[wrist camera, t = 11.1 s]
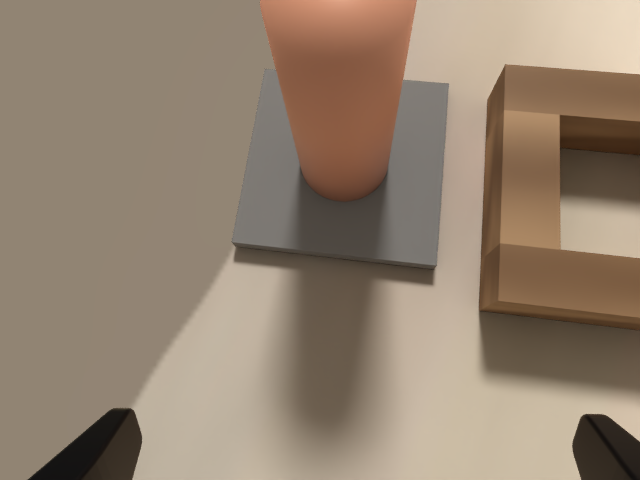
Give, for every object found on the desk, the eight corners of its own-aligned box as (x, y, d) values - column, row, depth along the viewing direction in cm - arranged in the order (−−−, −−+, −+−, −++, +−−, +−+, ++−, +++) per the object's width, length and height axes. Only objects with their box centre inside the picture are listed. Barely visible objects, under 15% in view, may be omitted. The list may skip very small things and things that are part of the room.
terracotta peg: (399, 187, 23) (439, 36, 13) (313, 211, 23) (280, 79, 13) (373, 111, 25) (389, -85, 14) (291, 134, 25) (245, -45, 14)
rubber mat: (433, 269, 23) (436, 265, 22) (235, 246, 24) (231, 242, 23) (445, 92, 26) (448, 83, 25) (267, 77, 27) (264, 68, 26)
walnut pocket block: (737, 342, 21) (798, 336, 18) (478, 310, 22) (498, 300, 19) (713, 118, 24) (762, 83, 22) (487, 99, 25) (505, 64, 23)
